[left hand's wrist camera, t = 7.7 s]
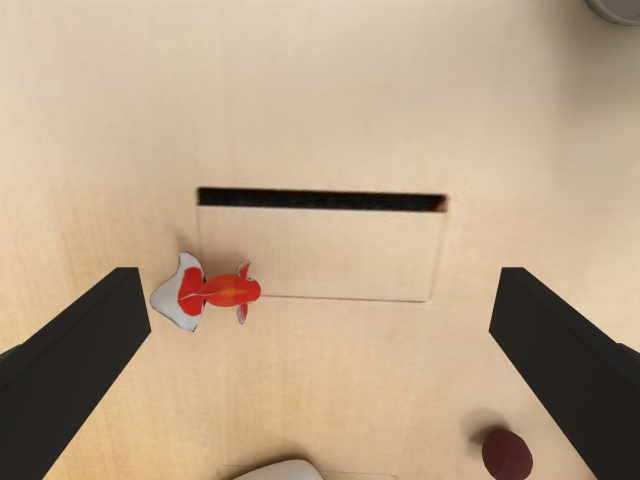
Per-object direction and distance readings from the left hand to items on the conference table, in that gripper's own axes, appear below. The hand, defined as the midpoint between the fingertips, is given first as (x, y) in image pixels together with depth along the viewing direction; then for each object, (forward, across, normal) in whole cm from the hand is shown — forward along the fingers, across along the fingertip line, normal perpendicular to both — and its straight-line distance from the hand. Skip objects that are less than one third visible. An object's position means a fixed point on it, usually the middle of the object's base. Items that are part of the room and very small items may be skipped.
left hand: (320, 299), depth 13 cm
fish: (+32, -15, -16) cm, 39 cm away
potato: (+32, +30, -46) cm, 64 cm away
